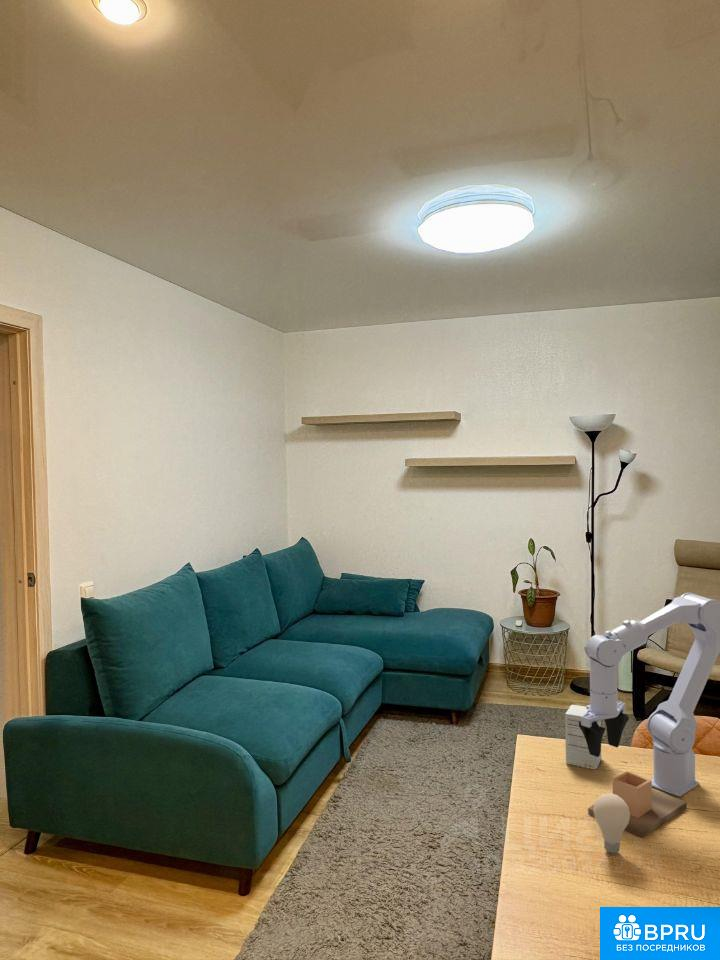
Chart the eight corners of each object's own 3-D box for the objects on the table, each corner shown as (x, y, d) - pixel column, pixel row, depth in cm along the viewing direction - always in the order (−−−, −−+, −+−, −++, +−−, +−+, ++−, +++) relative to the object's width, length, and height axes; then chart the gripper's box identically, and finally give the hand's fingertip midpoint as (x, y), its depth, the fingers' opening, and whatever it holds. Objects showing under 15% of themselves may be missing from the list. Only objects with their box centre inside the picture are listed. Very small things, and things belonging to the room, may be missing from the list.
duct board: (633, 787, 153) (633, 766, 152) (686, 807, 143) (686, 785, 143) (588, 813, 141) (587, 791, 141) (642, 837, 132) (641, 814, 132)
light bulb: (633, 864, 123) (633, 805, 123) (596, 860, 125) (595, 802, 124) (627, 844, 130) (626, 788, 130) (591, 841, 131) (590, 785, 131)
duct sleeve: (626, 798, 145) (626, 771, 145) (651, 808, 141) (651, 780, 140) (612, 807, 141) (612, 779, 141) (638, 817, 137) (637, 788, 137)
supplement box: (571, 752, 171) (571, 703, 171) (602, 758, 167) (601, 708, 167) (564, 764, 165) (564, 713, 165) (596, 770, 161) (595, 718, 161)
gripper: (605, 679, 158) (606, 736, 158) (568, 692, 149) (569, 753, 149) (633, 686, 152) (634, 745, 152) (597, 701, 143) (598, 764, 144)
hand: (604, 750), depth 150 cm, fingers open, 7 cm apart
